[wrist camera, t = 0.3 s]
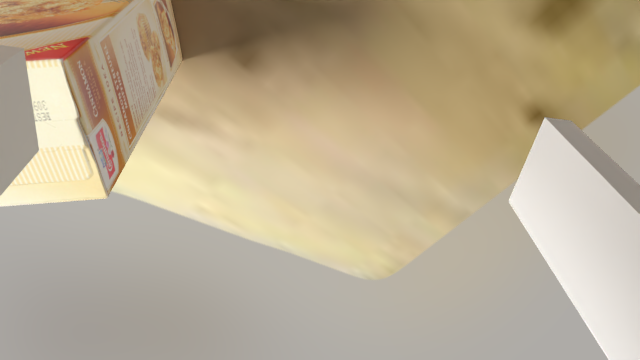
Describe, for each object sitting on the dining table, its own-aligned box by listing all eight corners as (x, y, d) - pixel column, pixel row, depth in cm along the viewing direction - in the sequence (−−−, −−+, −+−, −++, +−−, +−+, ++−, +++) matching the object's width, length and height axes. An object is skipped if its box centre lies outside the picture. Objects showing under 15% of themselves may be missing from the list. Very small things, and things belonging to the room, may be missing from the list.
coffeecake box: (165, -35, 36) (63, 56, 20) (185, 62, 40) (114, 205, 24) (-46, -19, 36) (-325, 84, 20) (-6, 76, 40) (-211, 230, 24)
